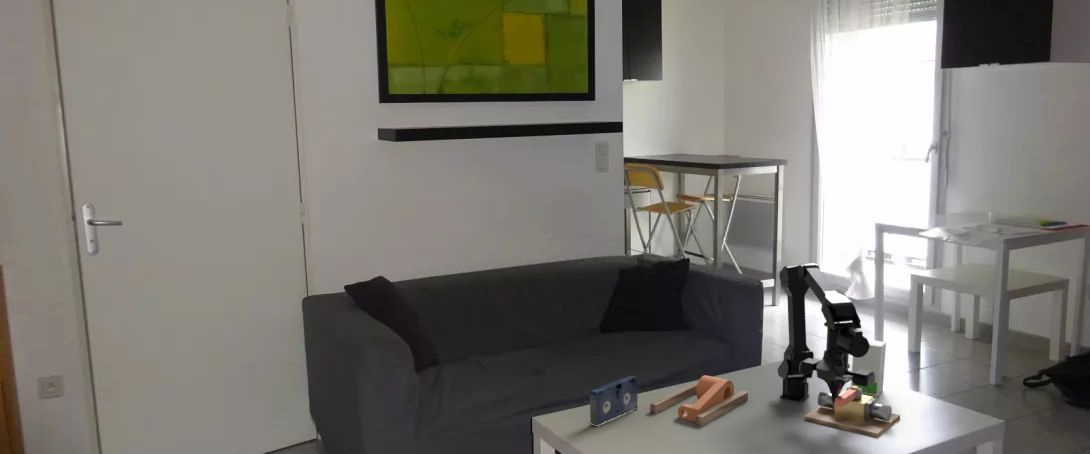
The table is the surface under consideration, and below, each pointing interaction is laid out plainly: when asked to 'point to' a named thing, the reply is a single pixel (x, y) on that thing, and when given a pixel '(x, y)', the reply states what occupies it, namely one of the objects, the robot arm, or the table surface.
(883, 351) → the skincare box
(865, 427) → the board
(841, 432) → the table surface
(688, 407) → the crank
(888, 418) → the valve
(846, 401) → the lever
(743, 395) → the pair of wooden rails
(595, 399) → the vhs cassette tape
